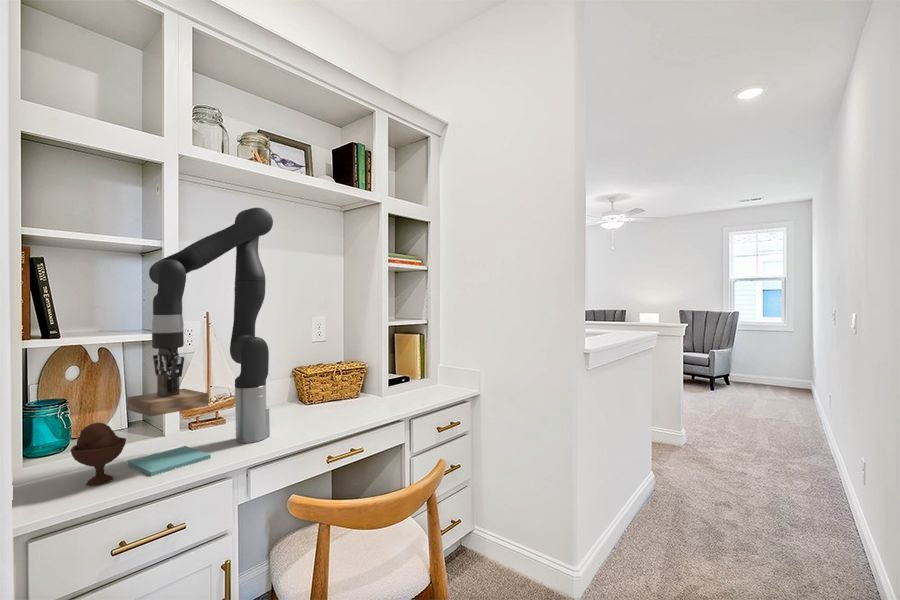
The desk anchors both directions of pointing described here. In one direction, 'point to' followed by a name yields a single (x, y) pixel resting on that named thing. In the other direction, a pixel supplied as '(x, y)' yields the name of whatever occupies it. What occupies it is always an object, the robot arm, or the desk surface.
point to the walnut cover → (166, 399)
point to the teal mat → (168, 460)
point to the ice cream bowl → (98, 450)
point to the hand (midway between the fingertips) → (168, 391)
